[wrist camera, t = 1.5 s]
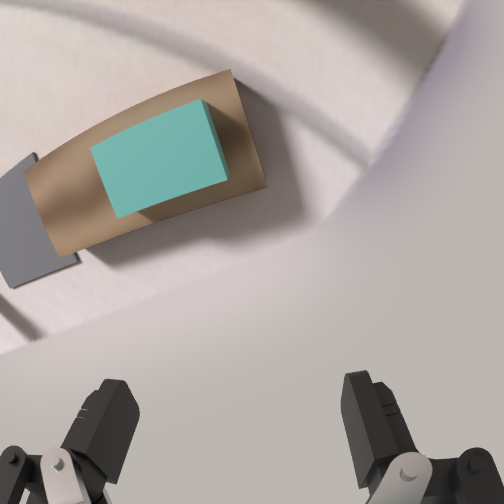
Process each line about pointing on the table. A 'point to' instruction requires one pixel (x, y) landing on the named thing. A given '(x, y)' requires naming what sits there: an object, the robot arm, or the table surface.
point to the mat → (24, 231)
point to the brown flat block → (108, 226)
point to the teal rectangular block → (161, 158)
